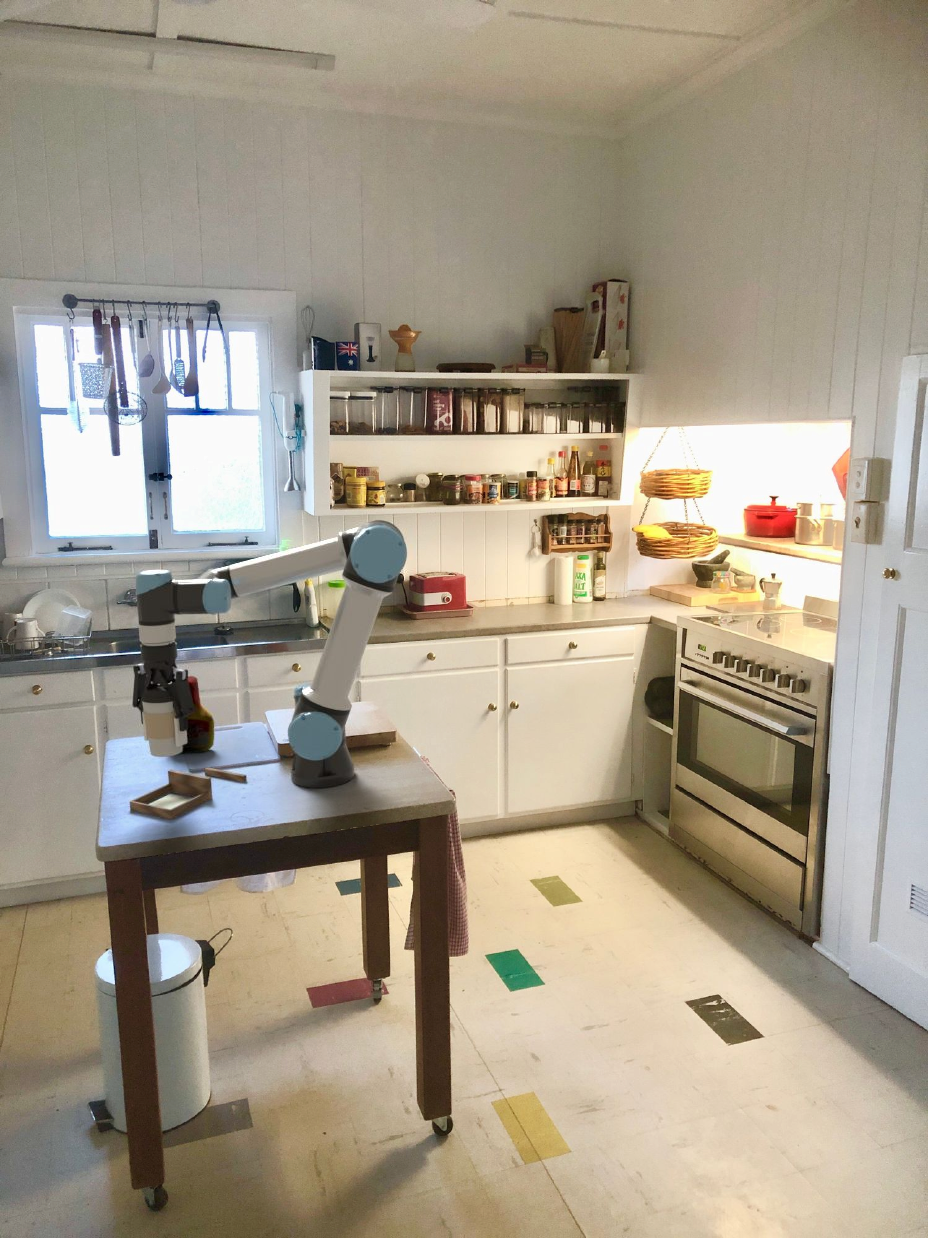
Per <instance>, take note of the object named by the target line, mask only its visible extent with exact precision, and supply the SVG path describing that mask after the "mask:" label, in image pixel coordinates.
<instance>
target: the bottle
mask: <svg viewBox="0 0 928 1238" xmlns="http://www.w3.org/2000/svg"><path fill="white" fill-rule="evenodd" d="M188 682H189V687H190V691H191V696H192V700H193V704H194V709H195V712H194V713H192V714H190V715H188V717H187V718H188V730H186V731H187V743H186V744H184V745H183V749H182V752H181V753H203V752H206V751H209V750H211V749H212V747H213V746H214V743H215V742H214V741H215V720H214V717H213V715H212V714H211V712H210V711H208V709H206V707H204V706H203V704H202V703H201V697H200V688H199V682H198V678H197V677H196V676H193V675H188ZM181 753H180V754H181Z"/></svg>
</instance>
